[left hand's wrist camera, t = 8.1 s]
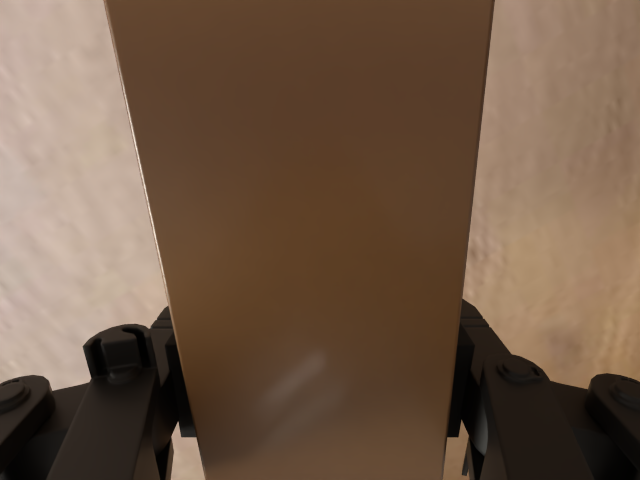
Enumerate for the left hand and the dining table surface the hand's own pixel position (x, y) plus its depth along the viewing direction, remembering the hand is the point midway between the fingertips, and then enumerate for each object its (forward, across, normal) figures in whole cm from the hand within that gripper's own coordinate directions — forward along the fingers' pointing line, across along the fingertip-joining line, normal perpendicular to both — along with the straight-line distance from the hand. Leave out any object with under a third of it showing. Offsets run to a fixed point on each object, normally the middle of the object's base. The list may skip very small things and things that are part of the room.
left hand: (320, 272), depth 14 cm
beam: (+1, +1, -24) cm, 24 cm away
